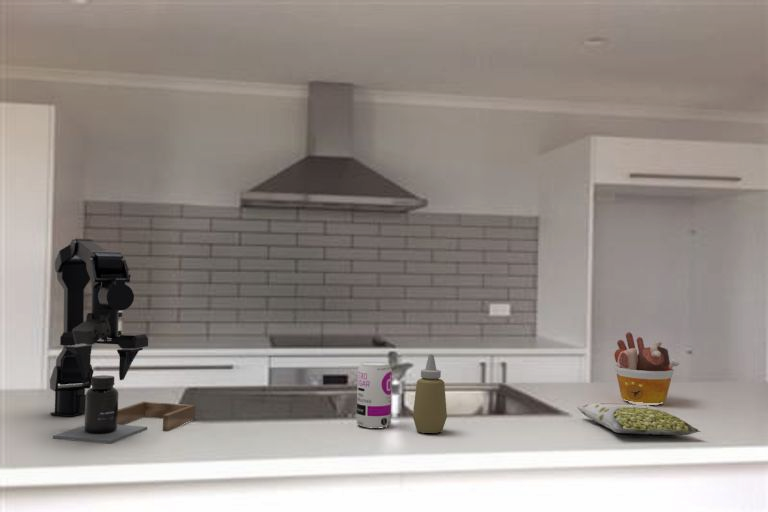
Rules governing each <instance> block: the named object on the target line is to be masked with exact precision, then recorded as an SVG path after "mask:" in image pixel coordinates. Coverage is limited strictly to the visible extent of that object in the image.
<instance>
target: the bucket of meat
mask: <svg viewBox="0 0 768 512" xmlns="http://www.w3.org/2000/svg"><path fill="white" fill-rule="evenodd" d="M625 338H626V343H627V345H626V343H625V341H624V340H622V339H619V340H617V341H616V342H617V343H616V344H617V346H618V349H617V350H615V352H614V354H613V355H614V360H615V362H616V365H614V369H615V372H616V378H617V383H618V387H619V393H620V397H621V398H622V400H623V399H625V400H628V401H633V402H643V403H661V402H664V403H665V402H666V400H667V396H668V393H669V389H670V386H671V381H672V377H673V375H674V369H673V368H674V367H678V366H679V365H680V362H679V361H678V360H676V359H674V358H672V359H670V355H669V350H668V349H667V348H665V347H662V342H661V341H659V340H658V341H655V342H654V343H653V344H652V343H651V345H649V347H645V344H644V340H643V338H642V337H641V336H639V337H637V339H636V344H637V345H636V344H635V340H634V336H633V334H632V333H631V332H626V334H625ZM636 346H637V348H638V349H637V348H636ZM627 347H628V348H627Z"/></svg>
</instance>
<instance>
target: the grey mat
mask: <svg viewBox="0 0 768 512" xmlns="http://www.w3.org/2000/svg"><path fill="white" fill-rule="evenodd" d="M84 426H85V424H84V425H81V426H78V427H76V428H71V429H69V430H66V431H62V432H59V433H57V434H53V435H52V439H56V440H66V441H67V440H68V441H77V442H78V441H81V442H91V443H101V444H113V443H115V442H119V441H121V440H124V439H127V438H128V437H131V436H134V435H137V434H139V433H142V432H145V431H147V430H148V426H142V425H129V424H128V425H127V424H123V425H119V424H117V429H116V431H114V432H111V433H104V434H92V433H87V432H86V431H85V429H84Z"/></svg>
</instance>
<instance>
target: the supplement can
mask: <svg viewBox="0 0 768 512" xmlns="http://www.w3.org/2000/svg"><path fill="white" fill-rule="evenodd" d="M392 377H393V369H392V367H391V366H390V363H389V362H386V361H385V362H384V361H363V362H360V364H359V366H358V368H357V384H356V385H357V386H356V387H357V388H356V391H357V392H356V424H357V425H358V426H359V425H360V426H363V427H372V428H379V427H386V426H388V427H389V426H390V425H391V422H392V421H391V420H392V386H393V385H392V381H393V378H392ZM360 426H359V427H360ZM386 428H387V427H386Z"/></svg>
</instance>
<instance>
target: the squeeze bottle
mask: <svg viewBox="0 0 768 512" xmlns="http://www.w3.org/2000/svg"><path fill="white" fill-rule="evenodd" d="M441 373H442V371H441V370H439V369H437V365H436V360H435V356H434V354H428V356H427V360H426V364H425V369H424V368H422V369H421V370H420V377H421V378H418V380H417V381H416V386H415V393H414V403H413V410H412V412H413V413H412V419H413V421H414V425H415V429H416V431H417V432H418V433H420V432H421V433H420V434H424V433H438V432H441V431H442V432H443V429H444V427H445V425H446V420H447V418H448V414H447V413H448V412H447V399H446V398H447V397H446V387H445V386H446V385H445V381H444V380H443V379H441V377H442V376H441V375H442V374H441ZM442 432H441V433H442ZM438 434H439V433H438Z"/></svg>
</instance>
